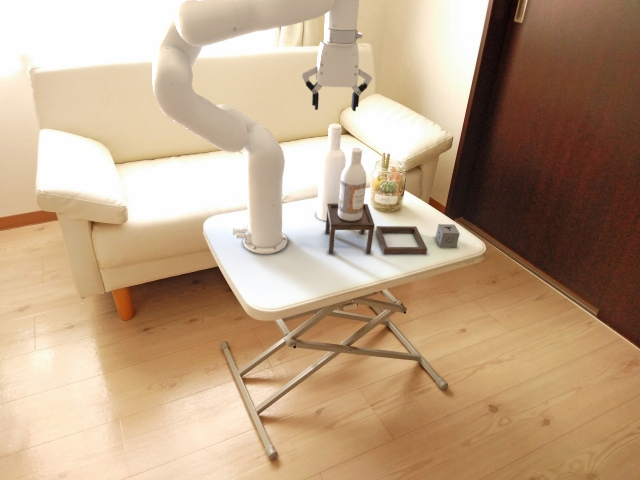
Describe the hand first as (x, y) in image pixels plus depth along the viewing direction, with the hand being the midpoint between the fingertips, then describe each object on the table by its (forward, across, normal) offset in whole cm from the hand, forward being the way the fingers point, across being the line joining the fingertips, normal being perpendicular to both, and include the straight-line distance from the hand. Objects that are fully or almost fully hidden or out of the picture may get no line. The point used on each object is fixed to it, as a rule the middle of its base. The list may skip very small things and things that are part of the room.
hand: (334, 109), depth 116 cm
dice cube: (+38, -36, +4) cm, 53 cm away
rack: (+38, -14, +4) cm, 41 cm away
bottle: (+38, -2, -12) cm, 40 cm away
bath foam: (+30, -6, +4) cm, 30 cm away
